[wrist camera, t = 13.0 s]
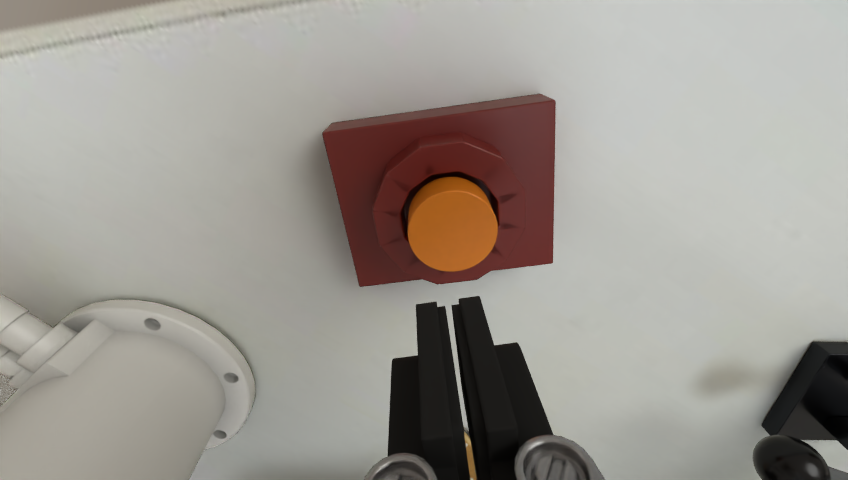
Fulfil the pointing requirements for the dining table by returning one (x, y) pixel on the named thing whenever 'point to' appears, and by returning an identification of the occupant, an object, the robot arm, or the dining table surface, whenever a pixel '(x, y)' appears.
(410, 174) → the control block
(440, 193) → the button
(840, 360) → the bracket
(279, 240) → the dining table surface
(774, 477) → the lever
